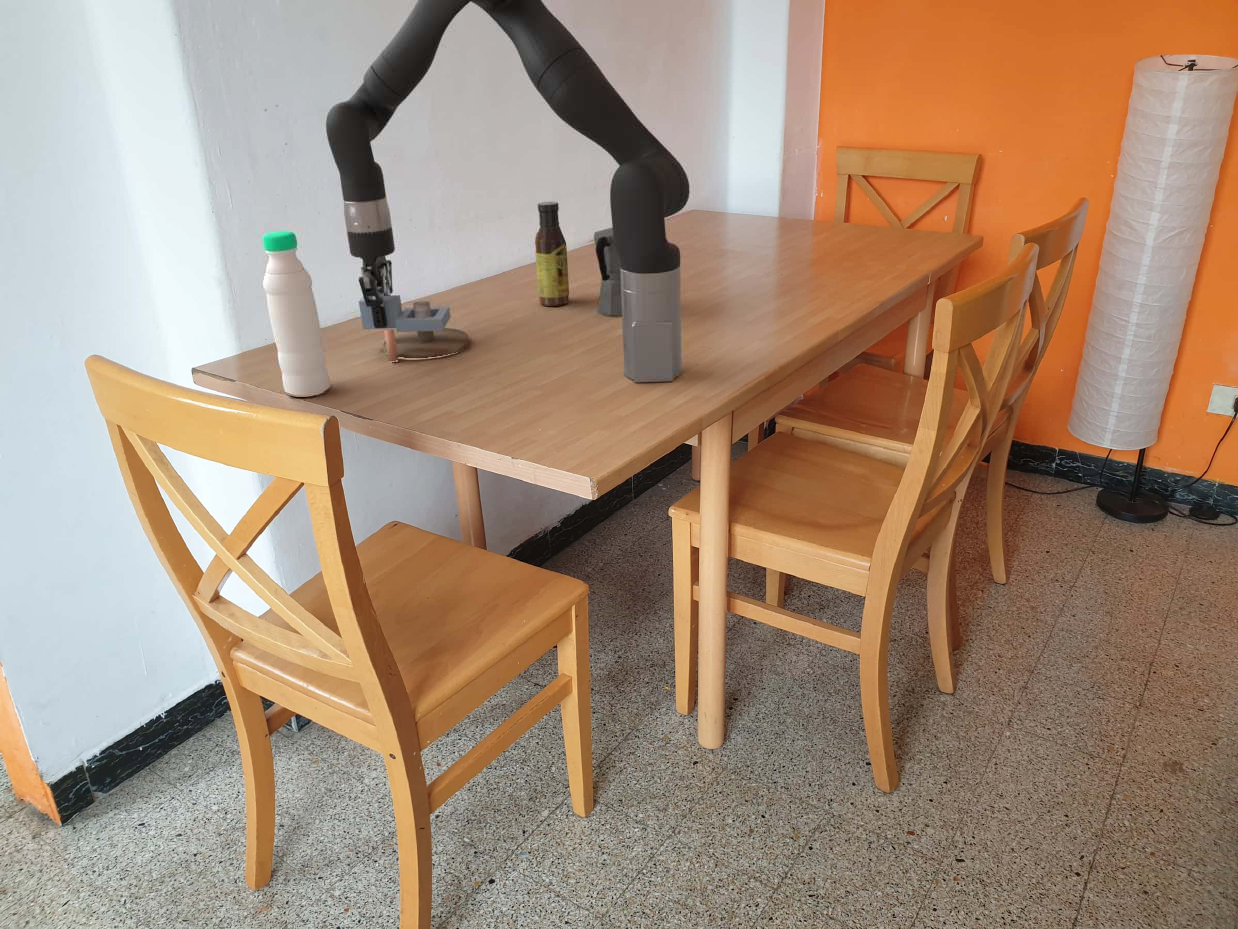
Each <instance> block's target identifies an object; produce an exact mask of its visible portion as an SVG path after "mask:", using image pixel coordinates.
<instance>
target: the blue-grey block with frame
mask: <svg viewBox="0 0 1238 929" xmlns="http://www.w3.org/2000/svg"><path fill="white" fill-rule="evenodd" d="M373 299H376V298H375V297H374V296H373ZM384 302H385V312H386V319H387V326H386V328H375V327H374V323H373V316H372V310H371V308H370V307H367V306H366V304H365V300H364V297H362V298H360V299H359V300H358V306H359V311H360V317H361V318H360V319H361V325H362V330H378V329H379V330H381V329H385V330H386V329H395V330H396V332H397V333H403V332H414V331H443V329H444V328H446V325H447V324H448V322H449V321H450V319H451V308H450V306H430V310H431V317H423V318H415V312H414V307H404V309H402V308H403V306H402V300H401V295H399V294H397V295H391V296H384Z"/></svg>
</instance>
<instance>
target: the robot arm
mask: <svg viewBox="0 0 1238 929" xmlns="http://www.w3.org/2000/svg"><path fill="white" fill-rule="evenodd" d="M415 3H416V4H415V5H414V7H413V8H412V10H411V12H410V13H409V15H408V17H407V18H406V20H405V21H404V22H403V24H402V25H401V27H400V28H399V29H398V31H397V32H396V34H395V35H394V37H393V38H392V39H391V40H390V42H388V44H387V45H386V46H385V47H384V49H383V50H382V51H381V52H380V54H379V55H378V56H377V57H376V59H375V60H374V61H373V62H372V63H371V65H370V66H369V67H368V69H367V70H366V72H365V73H364V75H363V82H362V84H361V85H360V86H359V87H358V89H357V90H356V91H355V93H354V94H353V95H352V96H351V97H350V98H349V99H347V100H346V101H342V102H341V101H340V102H338V103H336V104H335V105H333V106H332V107H331V108H330V109H329V110H328V113H327V115H326V121H325V131H326V138H327V141H328V145H329V148H330V150H331V154H332V158H333V160H334V163H335V165H336V168H337V170H338V173H339V179H340V187H341V192H342V193H341V194H342V199H343V214H344V221H345V229H346V235H347V241H348V247H349V248H348V249H349V254H350V256H352V257H354V258H357V259H358V258H359V259H361V260H362V266H361V267H360V271H361V276H359V277H358V283H359V286H360V289H361V292H362V296H363V297H364V300H365V304H366V306H367V307H370V308H371V310H372V316H373V323H374V327H375V328H385V329H387V328H386V326H387V319H386V312H385V302H384V296H392V294H393V292H394V289H393V273H392V272H393V269H392V260H390V259H387V258H386V256H387V257H388V256H389V255H392V254H393V253H395V250H396V247H395V239H394V232H393V224H392V218H391V211H390V207H389V203H388V199H387V195H386V194H387V193H386V192H387V191H386V185H385V178H384V174H383V169H382V167H381V166H380V164H379V163H378V162H376V161H375V158H374V153H373V148H372V144H371V142H373V141H374V140H375V139H376V138H377V137H378V136H379V135H380V134H381V133H382V131H384V129H385V128H386V126H387V125H388V123H389V122H390V120H391V119H392V118H393V116H394V114H395V113H396V111H397V109H398V108H399V106H400V105H401V104H402V103H403V102H404V101H405V100H406V99H407V98H408V97H409V95H410V94H412V93H413V91H414V90H415V89H416V87H417V86H418V85H419V84H420V83H421V81H422V80H423V79H424V78H425V76H426V75H427V73H428V72H429V70H430V68H431V67H432V64H433V62H434V59H435V57H436V54H437V51H438V49H439V46H440V43H441V41H442V38H443V36H444V34H445V32H446V31H447V28H448V26H449V25H450V24H451V23H452V21H453V20H454V19H455V17H456V16H457V15H458V14H459V13H460V12H461V11H462V10H463V9H464V8H465V7H466V6H467V5H469V3H473V4H474V5H476V6H478V7H479V8H480V9H482V11H484V12H485V13H487V15H488V16H490V18H491V19H492V20H493V21H495V23H496V24H497V25H498V26H499V27H500V29H501V30H502V31H503V32H504V33H505V34H506V35H507V36H508V38H509V39H510V41H511V43H512V44H513V45H514V47H515V49H516V51H517V53H518V56H519V58H520V61H521V62H522V66H523V68H524V70H525V72H526V74H527V76H528V78H529V80H530V81H531V83H532V85H533V86H534V88H535V89H536V91H537V92H538V93H539V94H540V96H541V97H542V98H543V99H544V101H545V102H546V104H548V106H549V107H550V109H551V110H552V111H553V113H554V114H556V116H557V117H558V118H559V119H561V120H562V121H563V122H564V123H565V124H567V125H568V126H569V127H571V128H572V129H574V130H575V131H576V132H578V133H579V134H580V135H582V136H584V137H586V138H587V139H588V140H590V141H591V142H593V143H595V144H596V145H598V146H599V147H601V149H603V150H604V151H606V152H607V153H608V154H609V155H610V156H611V157H612V158H613V160H614V161H615V162H616V163H617V165H619V166H618V167H617V169H616V170H615V172H614V174H613V175H612V176H613V177H612V180H611V182H610V189H609V190H610V191H609V193H610V194H609V199H610V200H609V202H610V214H611V226H612V227H611V228H613V239H614V245H615V248H616V251H617V253H618V255H619V258H620V273H621V301H622V317H621V318H622V322H621V323H622V324H621V325H622V345H623V347H622V348H623V364H624V366H623V367H624V368H623V369H624V376H626V377H627V378H628V379H631V380H632V381H633V383H654V382H655V383H656V382H658V383H659V382H674V379H675V378H678V377H679V376H680V375H681V374H682V363H683V362H682V361H683V360H682V359H683V358H682V353H683V352H682V308H681V307H682V304H681V303H682V302H681V301H682V298H681V297H682V292H681V288H682V287H681V285H682V284H681V283H682V282H681V281H682V280H681V279H682V278H681V277H682V276H681V251H680V248H679V246H677V245H676V244H675V243H671V242H669V240H668V239H667V235H666V234H667V232H666V222H665V219H666V218H669V217H671V216H673V215H676V214H677V213H679V212H680V211H682V210H683V209H684V208H685V206H686V205H687V203H688V201H689V198H690V194H691V193H690V182H689V181H690V180H689V179H688V175H687V173H686V170H685V169H684V168H683V165H682V164H681V163H680V161H679V160H678V159H677V158H676V157H675V156H674V155H673V154H672V153H671V152H670V151H669V150H668V149H667V148H666V147H665V146H664V144H662V143H661V142H660V140H659V139H658V138H657V137H656V136H655V134H652V132H651V131H650V130H649V129H648V128H647V127H646V126H645V124H643V123H642V122H641V120H640V119H639V118H638V117H637V116H636V115H635V113H634V112H633V110H632V109H631V107H629V105H628V104H627V103H626V101H625V100H624V98H622V95H621V94H619V92H618V91H617V90H616V88H615V87H614V86H613V85H612V84H611V83H610V81H609V79H608V78H606V76H605V75H604V73H603V72H602V70H601V69H600V67H599V66H598V65H597V63H596V62H595V61H594V59H593V57H591V55H590V54H589V53H588V52H587V50H586V49H585V48H584V46H582V45H581V43H580V42H579V41H578V40H577V39H576V38H575V36H574V35H573V34H572V33H571V32H570V30H568V28H567V27H566V26H565V25H564V24H563V23H562V22H561V21H560V20H559V19H558V18H557V17H556V16H555V15H553V13H552V12H551V11H550V10H549V8H547V6H546V5H545V3H544V2H543V1H542V0H417V1H416V2H415ZM373 296H374V297H375V298H376V299H373ZM363 297H362V298H363Z"/></svg>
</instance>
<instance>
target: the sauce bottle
mask: <svg viewBox="0 0 1238 929" xmlns="http://www.w3.org/2000/svg"><path fill="white" fill-rule="evenodd" d="M559 210H560V207H559V202H557V201H543V202H539V203H537V211H538V213H539V214H538V215H539V217H538V218H539V228H538V232H536V235H535V238H534V239H535V241H534V244H535V264H536V265H535V266H536V279H537V281H536V282H537V293H538V294H537V295H538V298H539V299H538V301H539V304H540V305H542V306H545V307H557V306H562V305H566V304H567V303H568V302H569V300H570V298H569V296H570V284H569V281H570V280H569V268H568V266H569V265H568V253H567V252H568V251H567V250H568V248H567V242H566V238H565V236H564V233H563V232H562V230H561V226H560V222H559Z"/></svg>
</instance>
